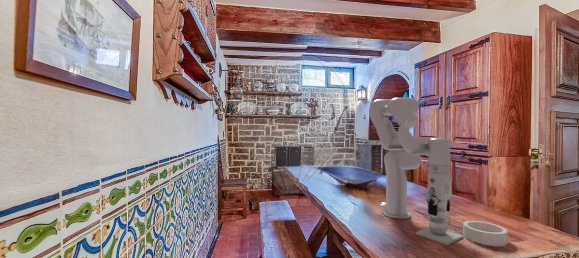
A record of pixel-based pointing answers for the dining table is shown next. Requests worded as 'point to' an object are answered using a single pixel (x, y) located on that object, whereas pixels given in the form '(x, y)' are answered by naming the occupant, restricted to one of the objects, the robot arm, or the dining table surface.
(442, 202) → the plastic bottle
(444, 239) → the mat
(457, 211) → the dining table surface
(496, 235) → the bowl
